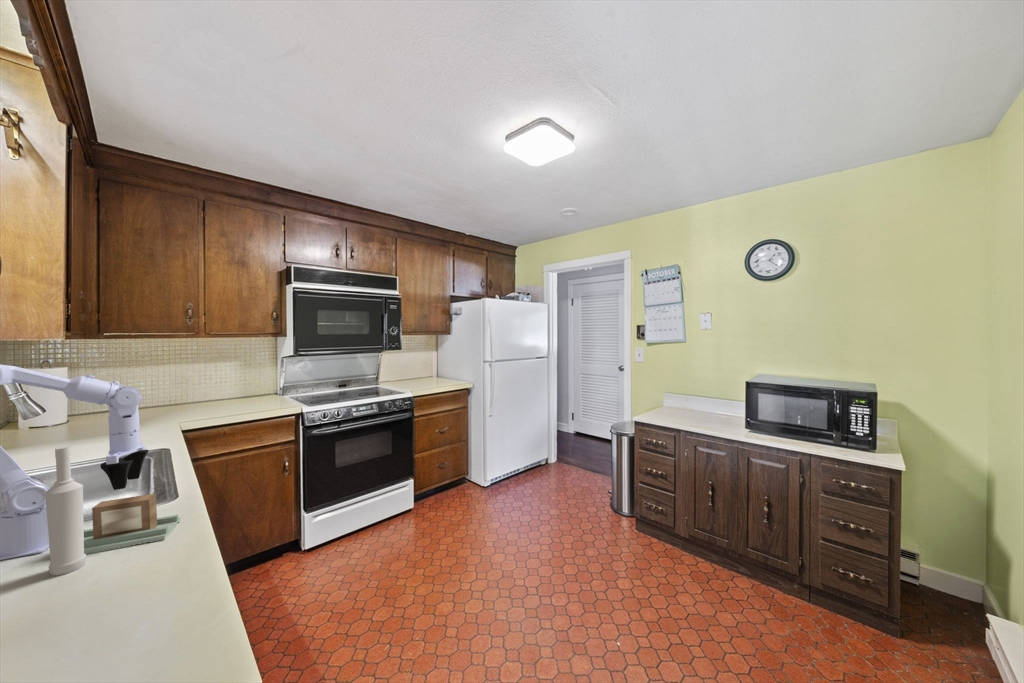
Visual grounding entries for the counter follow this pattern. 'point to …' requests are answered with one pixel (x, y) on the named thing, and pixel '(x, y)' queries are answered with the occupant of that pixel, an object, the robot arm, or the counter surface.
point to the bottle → (65, 518)
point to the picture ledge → (130, 536)
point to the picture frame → (124, 516)
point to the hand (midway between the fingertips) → (126, 483)
